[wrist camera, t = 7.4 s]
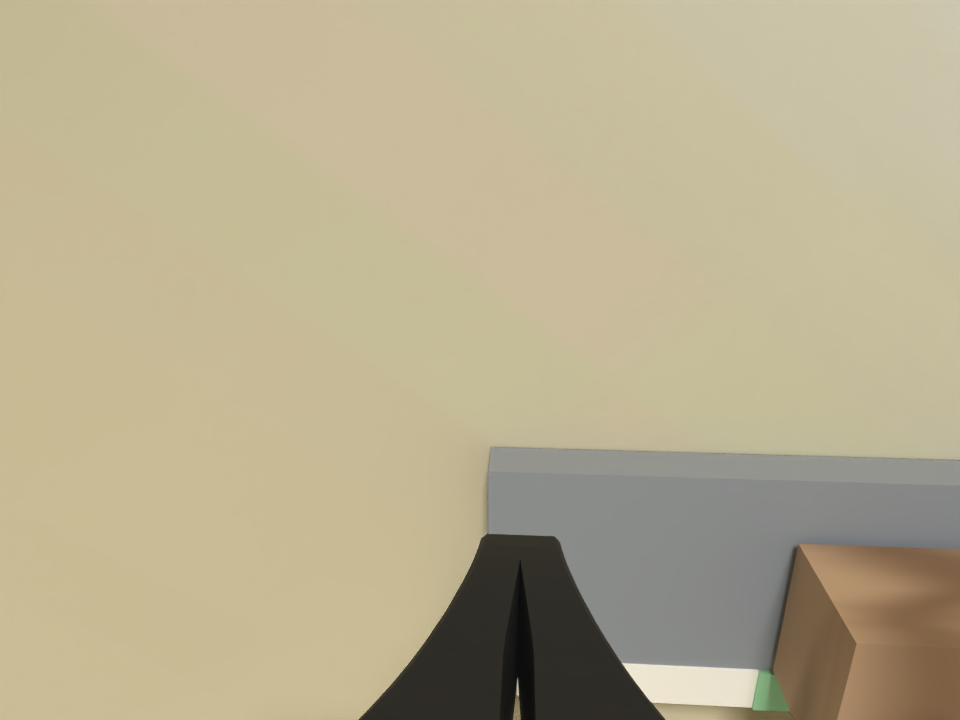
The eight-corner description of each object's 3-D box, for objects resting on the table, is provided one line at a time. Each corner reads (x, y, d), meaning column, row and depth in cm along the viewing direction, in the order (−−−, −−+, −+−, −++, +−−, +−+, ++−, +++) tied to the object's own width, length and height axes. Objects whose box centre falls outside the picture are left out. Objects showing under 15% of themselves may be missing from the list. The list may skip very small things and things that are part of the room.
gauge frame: (1147, 465, 21) (1393, 618, 15) (1056, 688, 24) (1228, 885, 18) (490, 446, 22) (477, 582, 16) (490, 661, 26) (478, 838, 20)
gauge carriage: (972, 549, 21) (1080, 665, 16) (919, 715, 23) (1003, 851, 19) (798, 543, 21) (863, 656, 17) (765, 707, 23) (815, 839, 19)
